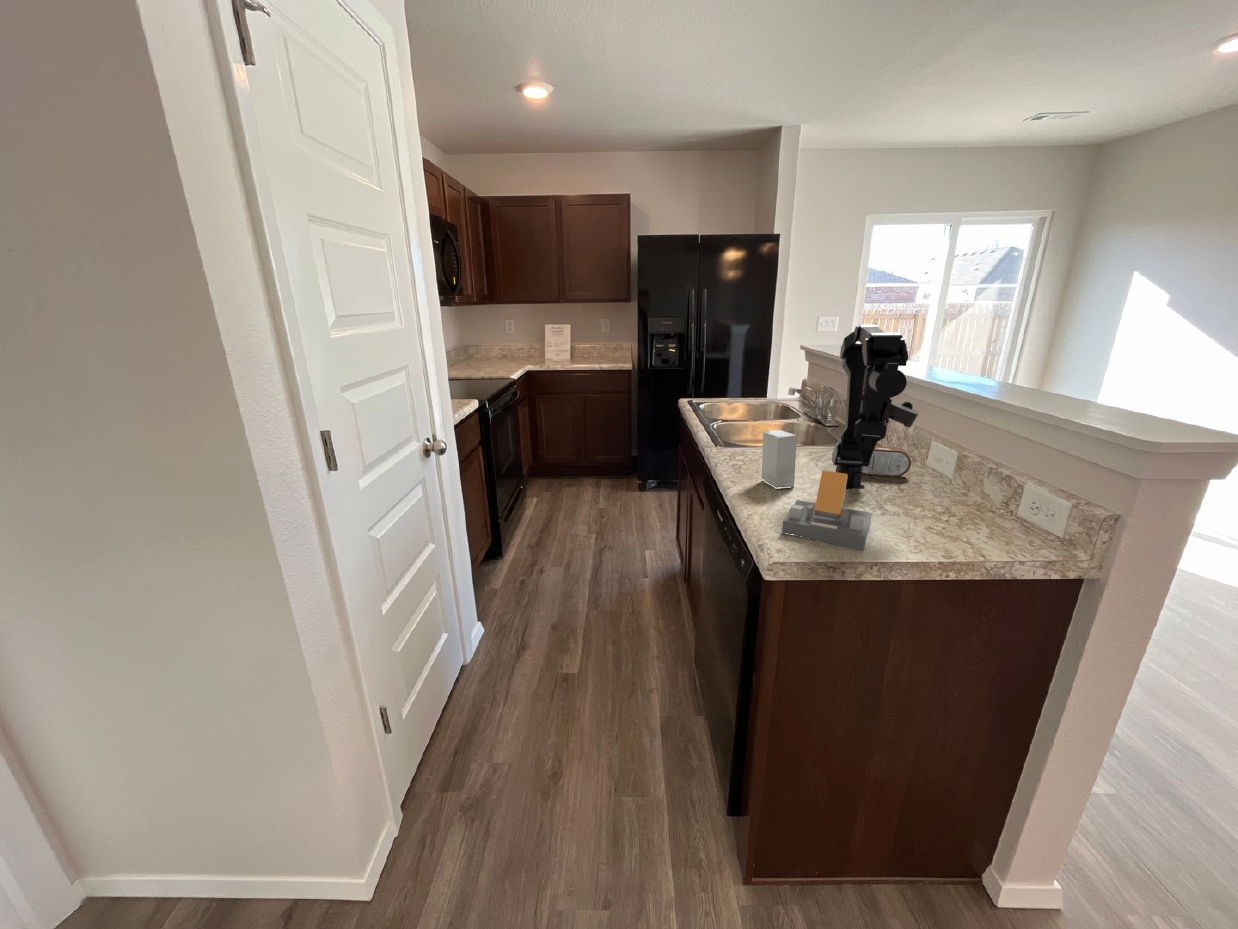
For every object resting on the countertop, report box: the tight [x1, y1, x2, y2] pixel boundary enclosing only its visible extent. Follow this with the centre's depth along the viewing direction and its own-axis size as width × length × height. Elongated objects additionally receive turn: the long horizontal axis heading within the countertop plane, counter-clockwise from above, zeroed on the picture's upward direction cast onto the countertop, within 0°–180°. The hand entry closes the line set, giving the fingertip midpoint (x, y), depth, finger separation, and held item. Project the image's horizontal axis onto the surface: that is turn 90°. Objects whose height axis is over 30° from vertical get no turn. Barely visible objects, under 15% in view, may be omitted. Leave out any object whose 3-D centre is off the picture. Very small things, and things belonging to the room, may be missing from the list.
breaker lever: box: [815, 469, 848, 519], centre depth 104 cm, size 2×5×10 cm
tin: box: [862, 445, 912, 478], centre depth 140 cm, size 15×3×8 cm, turn 71°
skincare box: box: [761, 429, 798, 488], centre depth 133 cm, size 8×6×15 cm
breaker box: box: [781, 499, 873, 551], centre depth 105 cm, size 14×16×5 cm
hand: (867, 458), depth 112 cm, fingers open, 9 cm apart
